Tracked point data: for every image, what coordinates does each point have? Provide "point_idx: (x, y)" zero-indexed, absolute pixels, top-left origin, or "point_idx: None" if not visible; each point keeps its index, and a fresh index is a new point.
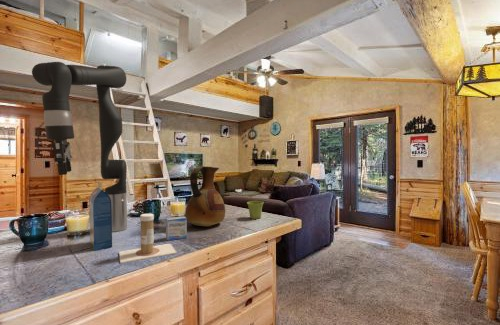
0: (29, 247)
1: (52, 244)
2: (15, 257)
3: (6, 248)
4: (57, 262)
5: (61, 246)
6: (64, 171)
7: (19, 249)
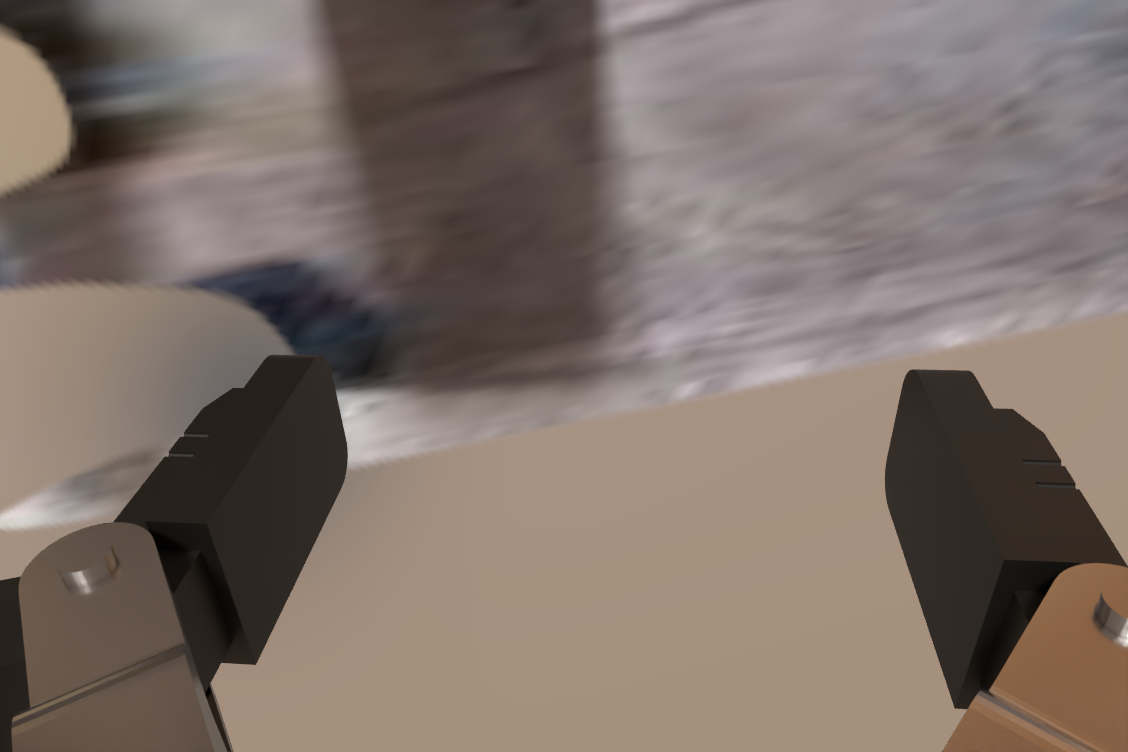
0: None
1: (286, 238)
2: (499, 391)
3: None
4: (743, 131)
5: (359, 168)
6: (1041, 435)
7: None
